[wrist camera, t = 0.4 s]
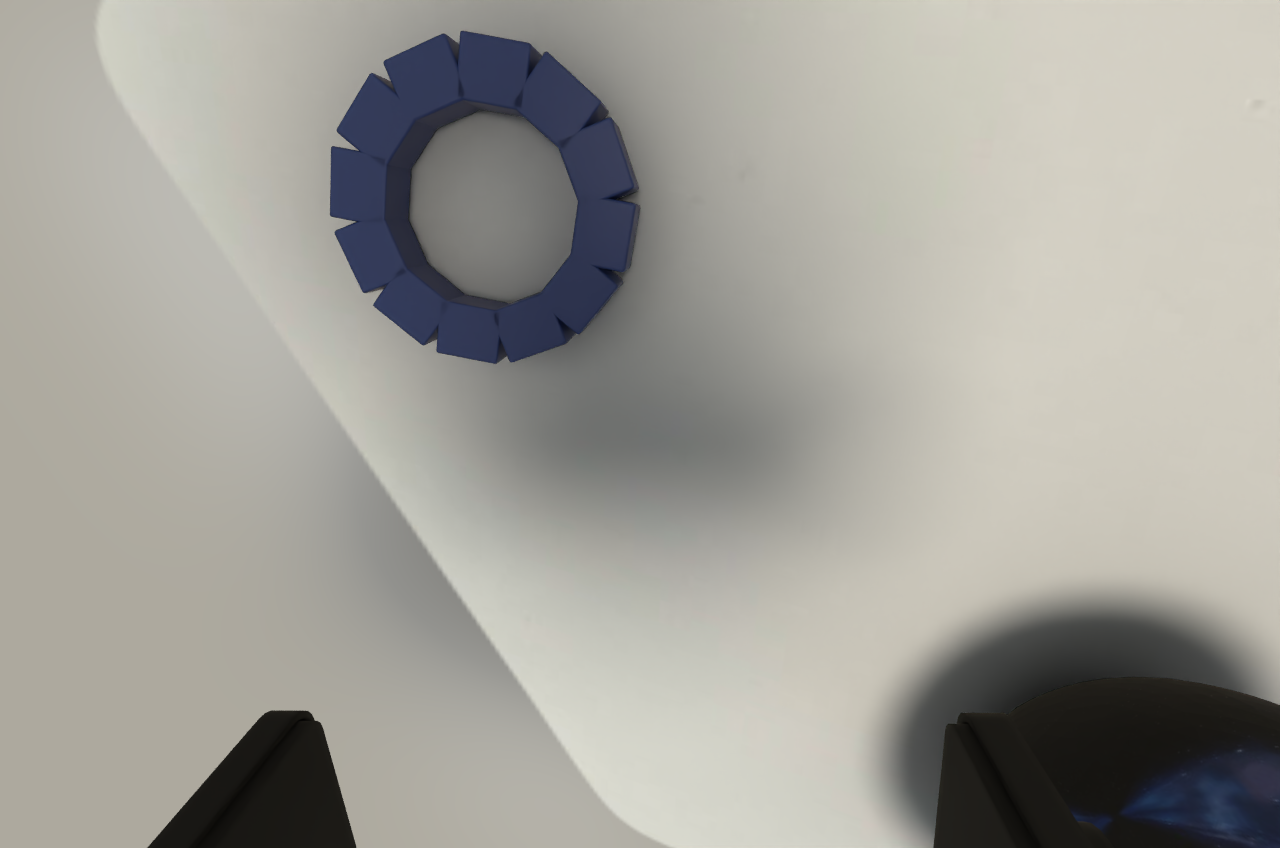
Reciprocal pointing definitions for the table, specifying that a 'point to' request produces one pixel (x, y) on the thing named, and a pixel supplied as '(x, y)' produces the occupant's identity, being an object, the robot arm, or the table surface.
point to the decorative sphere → (1161, 761)
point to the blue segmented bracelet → (380, 187)
